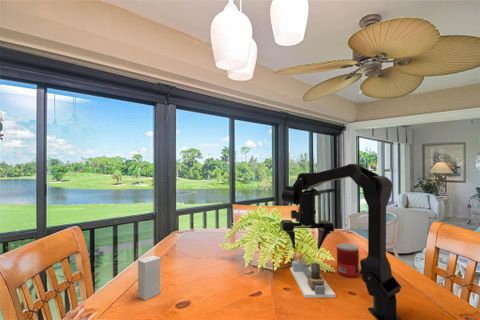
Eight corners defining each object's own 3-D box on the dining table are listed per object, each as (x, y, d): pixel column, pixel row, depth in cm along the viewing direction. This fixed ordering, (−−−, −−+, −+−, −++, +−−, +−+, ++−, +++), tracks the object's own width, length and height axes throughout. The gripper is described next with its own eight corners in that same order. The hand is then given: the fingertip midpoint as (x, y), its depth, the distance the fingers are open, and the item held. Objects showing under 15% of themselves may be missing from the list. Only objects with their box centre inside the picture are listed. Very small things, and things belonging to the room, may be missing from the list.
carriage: (324, 289, 88) (324, 267, 88) (311, 290, 87) (311, 267, 88) (319, 283, 93) (319, 261, 93) (307, 283, 92) (307, 261, 93)
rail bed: (335, 297, 85) (335, 285, 85) (304, 297, 85) (304, 285, 85) (314, 269, 108) (314, 259, 108) (290, 269, 108) (290, 259, 108)
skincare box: (153, 289, 90) (154, 254, 90) (160, 293, 87) (161, 257, 88) (137, 296, 85) (137, 259, 86) (144, 301, 83) (144, 262, 83)
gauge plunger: (302, 259, 104) (302, 254, 104) (296, 259, 104) (296, 254, 104) (301, 257, 106) (301, 252, 106) (295, 257, 106) (295, 252, 106)
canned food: (361, 279, 99) (360, 249, 99) (338, 277, 101) (338, 248, 101) (356, 271, 107) (356, 243, 107) (335, 269, 108) (335, 242, 109)
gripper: (324, 203, 105) (323, 242, 105) (278, 202, 105) (277, 241, 105) (335, 208, 94) (334, 251, 94) (283, 207, 94) (282, 251, 94)
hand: (306, 248), depth 97 cm, fingers open, 9 cm apart
